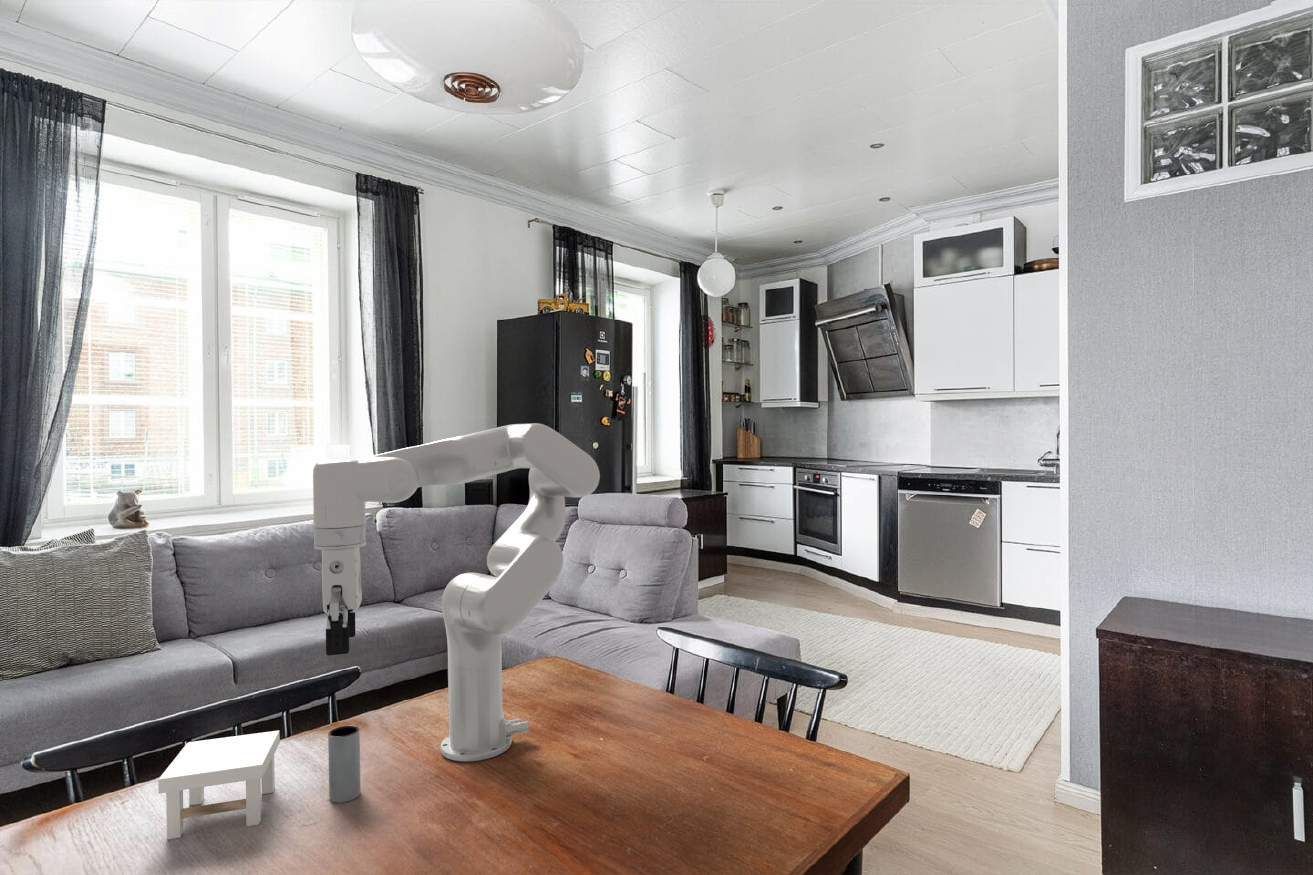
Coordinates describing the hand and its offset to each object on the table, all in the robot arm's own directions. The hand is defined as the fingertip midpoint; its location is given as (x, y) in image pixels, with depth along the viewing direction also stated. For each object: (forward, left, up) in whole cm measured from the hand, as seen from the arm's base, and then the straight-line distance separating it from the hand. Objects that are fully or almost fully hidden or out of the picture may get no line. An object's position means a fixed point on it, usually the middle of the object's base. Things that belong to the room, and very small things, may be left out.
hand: (341, 645), depth 112 cm
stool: (+17, -1, -24) cm, 29 cm away
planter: (0, 0, -24) cm, 24 cm away
